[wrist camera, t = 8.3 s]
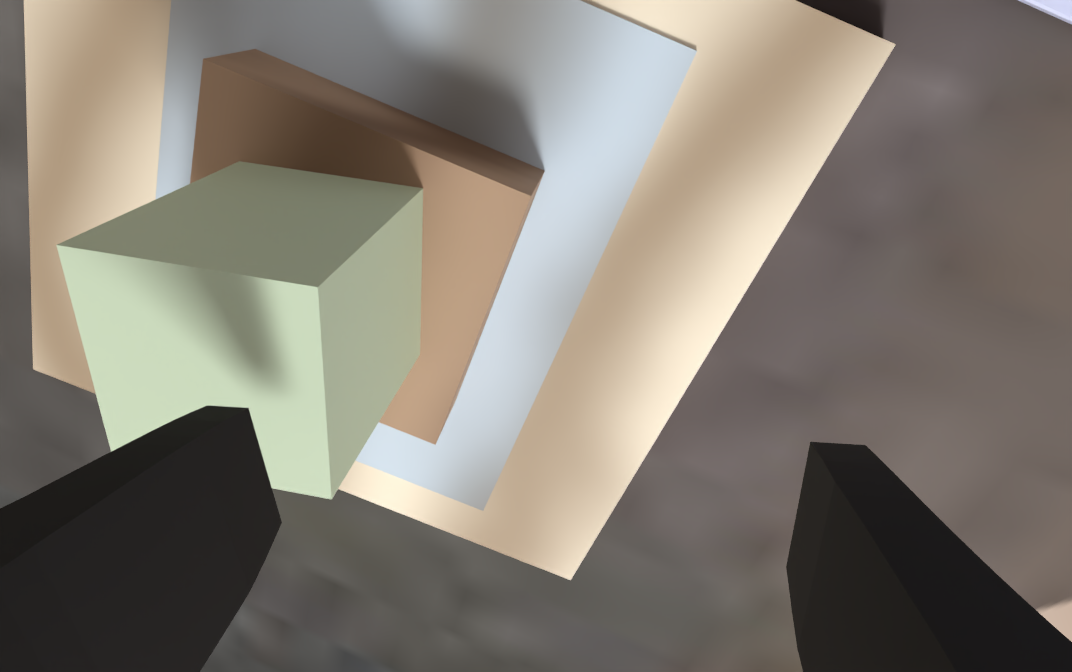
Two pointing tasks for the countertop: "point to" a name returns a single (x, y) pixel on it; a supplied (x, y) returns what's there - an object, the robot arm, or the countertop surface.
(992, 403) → the countertop surface
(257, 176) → the green block
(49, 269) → the build board
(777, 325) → the countertop surface
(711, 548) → the countertop surface
